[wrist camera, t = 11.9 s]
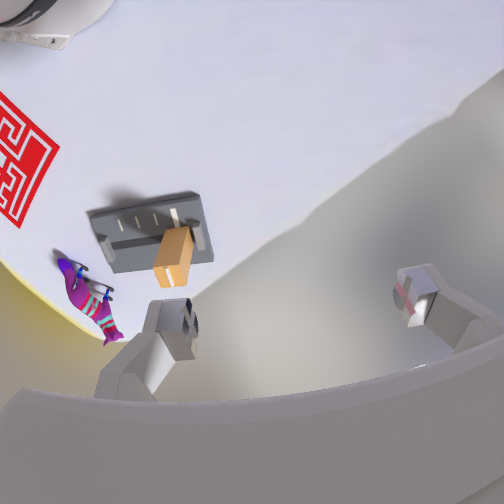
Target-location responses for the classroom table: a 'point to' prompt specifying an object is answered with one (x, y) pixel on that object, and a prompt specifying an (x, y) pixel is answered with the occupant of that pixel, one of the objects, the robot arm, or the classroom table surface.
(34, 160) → the maze puzzle
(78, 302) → the purple fox figurine
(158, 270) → the fader cap
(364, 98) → the classroom table surface
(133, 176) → the classroom table surface
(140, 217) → the fader board
